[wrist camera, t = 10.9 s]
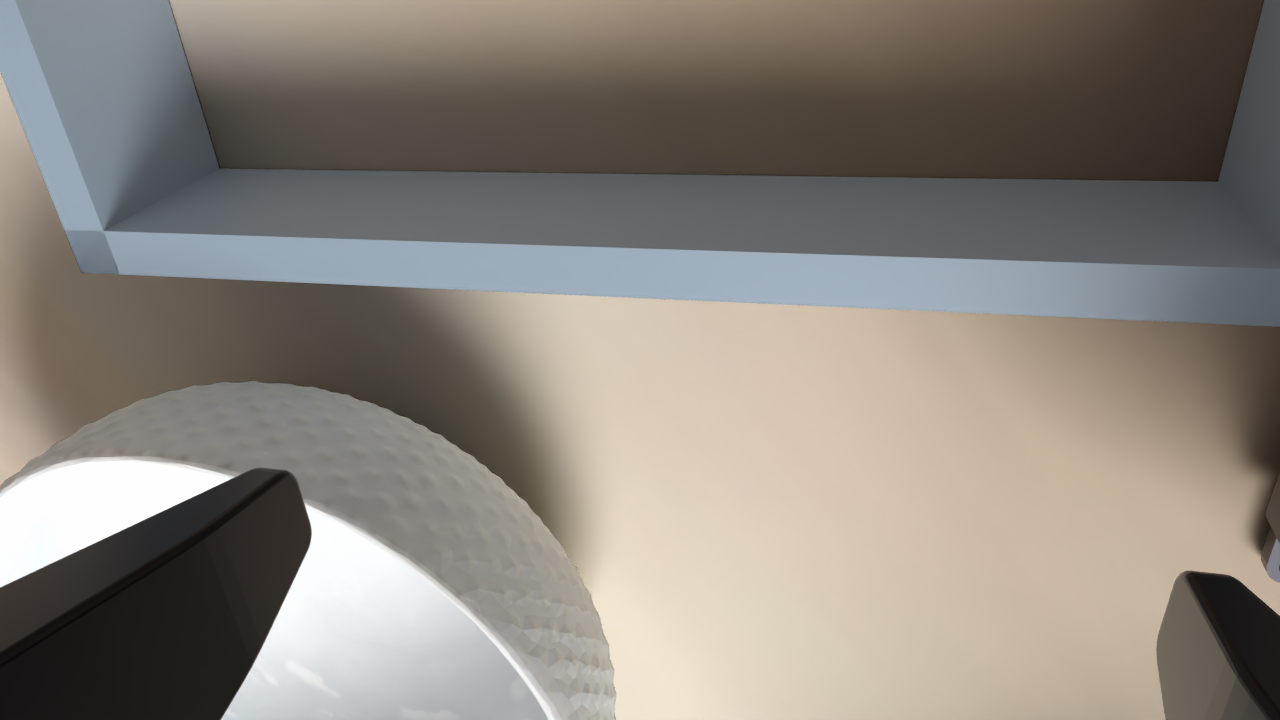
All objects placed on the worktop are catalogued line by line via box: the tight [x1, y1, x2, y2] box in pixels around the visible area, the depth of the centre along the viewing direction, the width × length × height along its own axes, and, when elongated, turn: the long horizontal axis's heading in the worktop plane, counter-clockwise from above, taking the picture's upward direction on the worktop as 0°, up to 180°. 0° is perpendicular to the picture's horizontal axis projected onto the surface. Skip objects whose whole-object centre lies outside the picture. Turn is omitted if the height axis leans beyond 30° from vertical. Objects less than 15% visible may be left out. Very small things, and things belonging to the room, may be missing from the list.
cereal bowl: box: [0, 381, 616, 720], centre depth 25 cm, size 17×17×7 cm
